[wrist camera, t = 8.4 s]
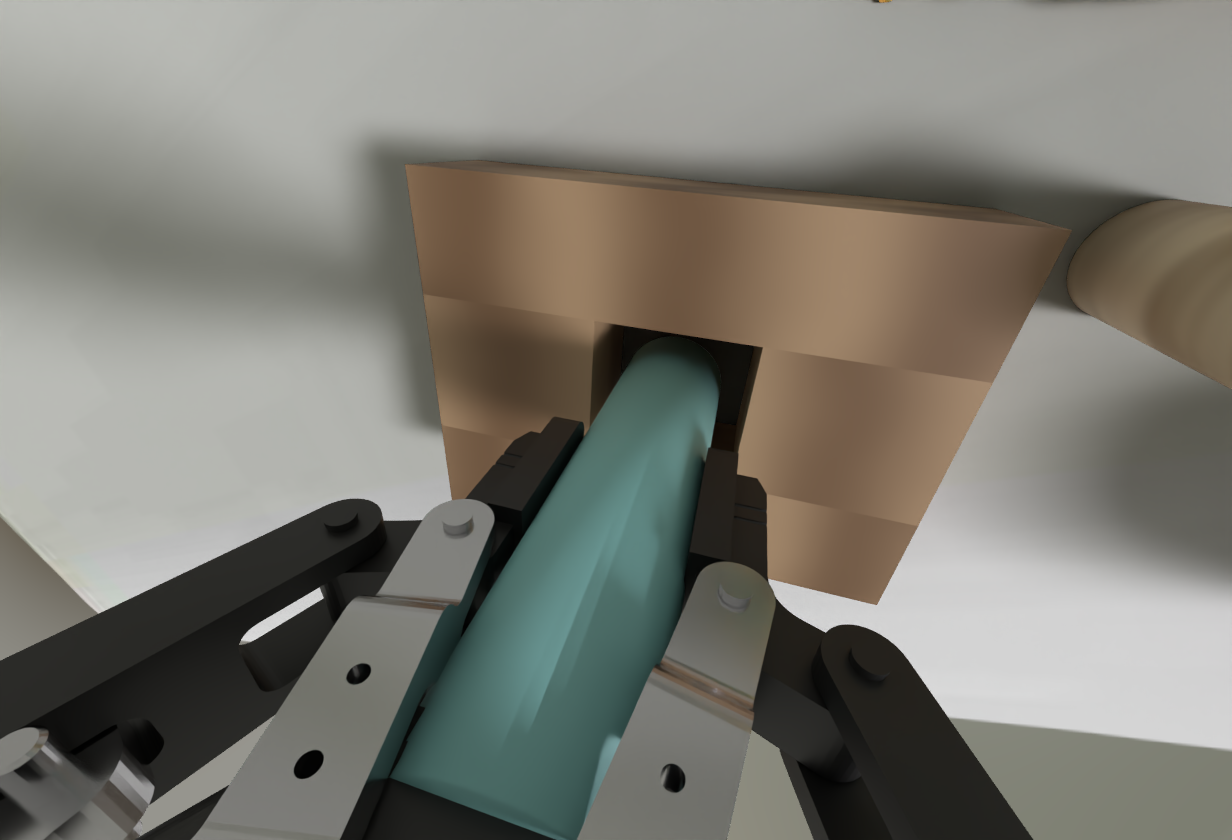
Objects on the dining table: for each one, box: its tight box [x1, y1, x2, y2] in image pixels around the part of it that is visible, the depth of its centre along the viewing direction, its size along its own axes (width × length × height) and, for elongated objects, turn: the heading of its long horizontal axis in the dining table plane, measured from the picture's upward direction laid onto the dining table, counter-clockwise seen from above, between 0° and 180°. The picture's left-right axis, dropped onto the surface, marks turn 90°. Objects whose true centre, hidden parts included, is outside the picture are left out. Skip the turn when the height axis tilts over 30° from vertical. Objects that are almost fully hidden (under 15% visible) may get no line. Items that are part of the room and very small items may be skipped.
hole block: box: [405, 160, 1072, 605], centre depth 16 cm, size 16×12×4 cm
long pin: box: [390, 337, 721, 840], centre depth 11 cm, size 3×3×13 cm
